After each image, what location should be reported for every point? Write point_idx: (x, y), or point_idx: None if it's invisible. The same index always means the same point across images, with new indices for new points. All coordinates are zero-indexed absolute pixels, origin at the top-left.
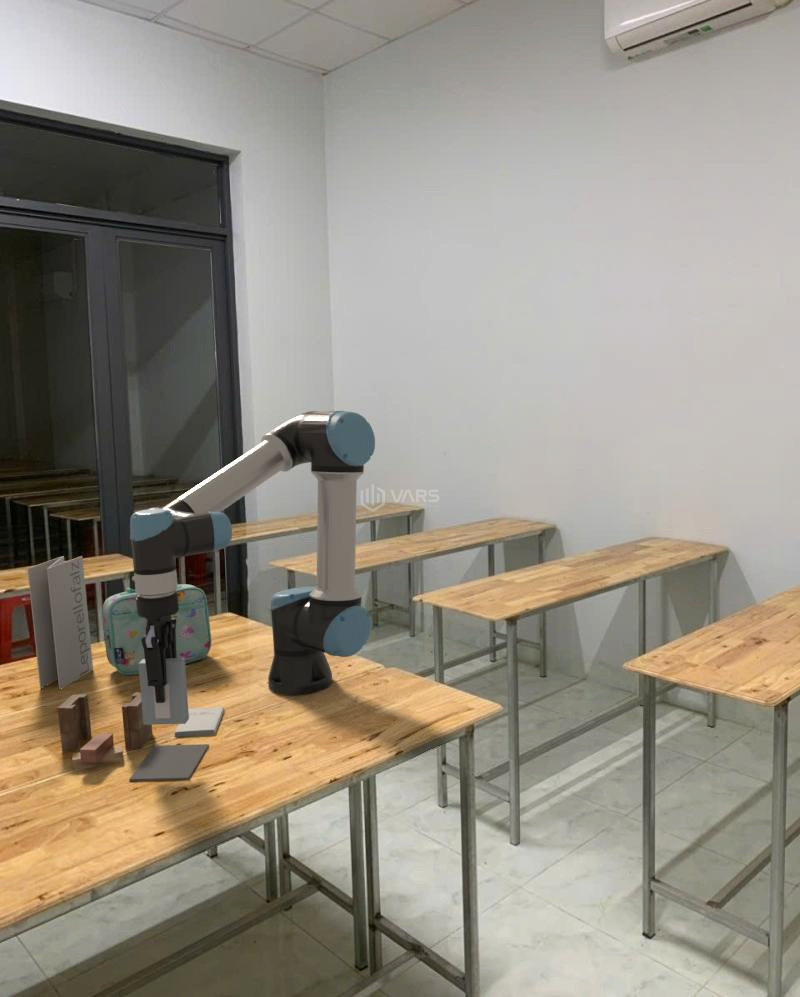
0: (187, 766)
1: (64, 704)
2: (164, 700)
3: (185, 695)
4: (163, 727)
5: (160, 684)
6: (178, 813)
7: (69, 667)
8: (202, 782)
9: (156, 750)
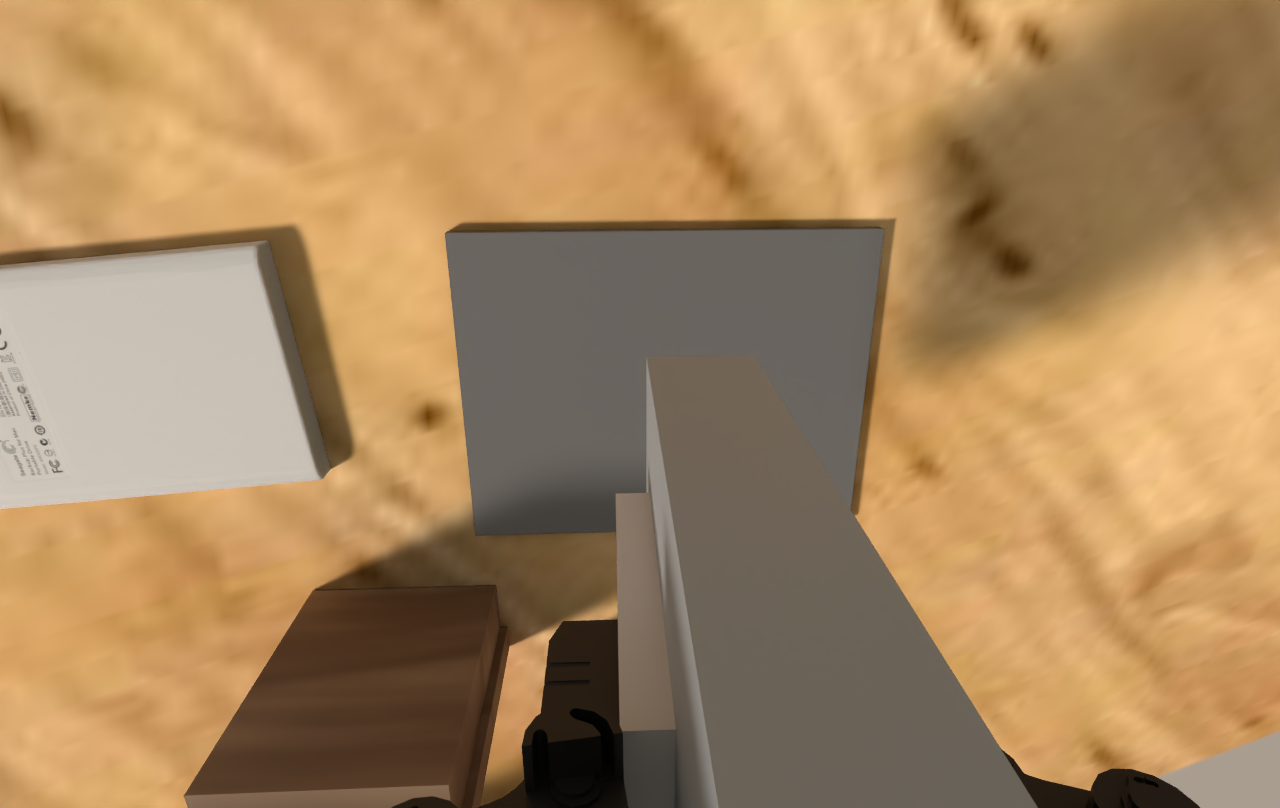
0: (744, 277)
1: None
2: None
3: (734, 452)
4: (218, 564)
5: (1180, 804)
6: (1243, 173)
7: None
8: (924, 136)
9: (534, 505)
